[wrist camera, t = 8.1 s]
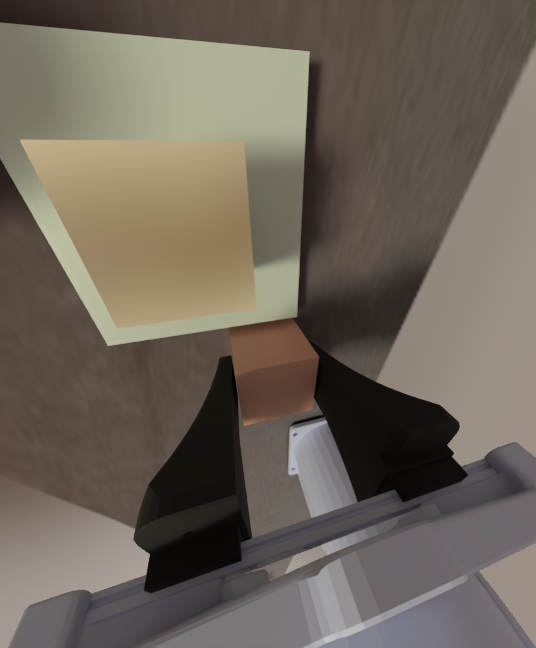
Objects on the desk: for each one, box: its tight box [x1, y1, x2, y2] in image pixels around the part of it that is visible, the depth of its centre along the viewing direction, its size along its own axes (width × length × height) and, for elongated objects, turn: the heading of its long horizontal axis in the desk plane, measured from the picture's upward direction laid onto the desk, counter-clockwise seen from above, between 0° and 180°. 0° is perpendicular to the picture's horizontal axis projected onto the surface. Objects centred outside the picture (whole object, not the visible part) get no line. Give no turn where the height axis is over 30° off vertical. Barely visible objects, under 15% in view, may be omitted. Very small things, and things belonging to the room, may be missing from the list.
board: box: [0, 23, 310, 346], centre depth 9 cm, size 10×10×1 cm
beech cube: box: [20, 140, 257, 329], centre depth 7 cm, size 4×4×4 cm
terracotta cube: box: [229, 318, 319, 426], centre depth 12 cm, size 4×4×4 cm
